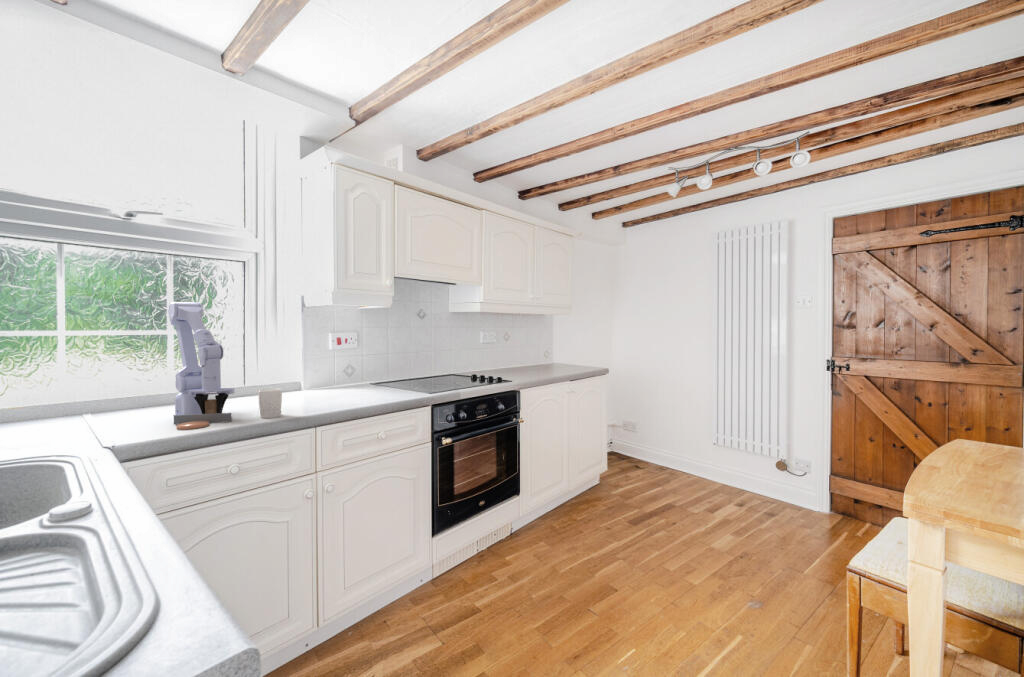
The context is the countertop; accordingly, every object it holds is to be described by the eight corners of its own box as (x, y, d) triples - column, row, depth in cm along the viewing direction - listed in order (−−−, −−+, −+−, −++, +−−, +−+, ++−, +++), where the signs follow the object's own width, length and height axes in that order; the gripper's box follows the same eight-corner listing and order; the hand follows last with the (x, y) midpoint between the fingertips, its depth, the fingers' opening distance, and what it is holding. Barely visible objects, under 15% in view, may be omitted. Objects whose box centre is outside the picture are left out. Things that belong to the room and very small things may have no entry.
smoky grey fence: (173, 424, 153) (173, 415, 153) (175, 423, 154) (175, 415, 154) (230, 421, 156) (230, 413, 156) (231, 421, 157) (231, 412, 157)
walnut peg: (202, 420, 160) (201, 400, 160) (212, 417, 164) (212, 398, 164) (211, 420, 159) (211, 401, 159) (222, 418, 163) (222, 399, 163)
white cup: (253, 417, 163) (253, 390, 163) (272, 413, 170) (272, 388, 170) (268, 419, 160) (267, 392, 160) (287, 415, 167) (286, 389, 167)
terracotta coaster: (169, 429, 145) (169, 426, 145) (194, 423, 154) (194, 420, 154) (191, 430, 143) (191, 427, 143) (215, 424, 152) (215, 421, 152)
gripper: (183, 379, 156) (184, 417, 156) (227, 377, 158) (228, 415, 159) (193, 376, 163) (194, 413, 163) (236, 375, 165) (237, 411, 166)
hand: (212, 414), depth 161 cm, fingers closed on walnut peg, 4 cm apart
